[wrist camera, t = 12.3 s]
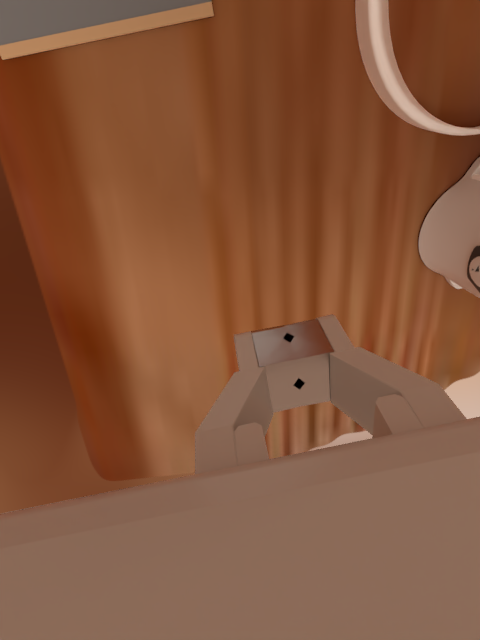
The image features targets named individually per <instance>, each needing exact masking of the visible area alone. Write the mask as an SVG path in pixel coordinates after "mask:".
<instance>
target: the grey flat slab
mask: <svg viewBox="0 0 480 640" xmlns="http://www.w3.org/2000/svg"><path fill="white" fill-rule="evenodd" d="M213 16H214V13H213V7H212V1H211V0H0V56H1V58H2V60H7V59H12V58H17V57H21V56H26V55H31V54H36V53H41V52H45V51H50V50H55V49H60V48H65V47H69V46H74V45H79V44H84V43H89V42H93V41H98V40H103V39H108V38H113V37H117V36H122V35H127V34H132V33H137V32H141V31H146V30H151V29H156V28H161V27H165V26H170V25H175V24H180V23H185V22H189V21H194V20H199V19H204V18H208V17H213Z"/></svg>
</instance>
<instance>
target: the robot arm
mask: <svg viewBox="0 0 480 640" xmlns="http://www.w3.org/2000/svg"><path fill="white" fill-rule="evenodd" d="M419 253H420V256H421V259H422V261H423V262H424V264H425V265H426V266H427V267H428V268H429V269H431V270H432V271H434V272H436V273H439V274H441V275H443V276H444V277H445V278H446V280H447V281H448V283H449V284H450V285H451V286H453V287H454V288H456V289H461V288H464V289H465V290H467V291H469V292H470V293H472V294H474V295H475V296H477V297H479V298H480V157H479V158H478V159H477V160H476V161H475V162H474V163H473V165H472V166H471V167H470V169H469V170H468V171H467V173H466V174H465V176H464V177H463V178H462V179H461V180H460V181H459V182H457V183H456V184H455V185H454V186H452V187H451V188H450V189H449V190H448V191H446V192H445V193H444V194H443V195H442V196H441V197H440V198H439V199H438V201H437V202H436V203H435V204H434V205H433V207H432V208H431V210H430V211H429V213H428V215H427V216H426V218H425V220H424V222H423V225H422V228H421V231H420V235H419ZM234 341H235V348H236V354H237V360H238V366H239V372H235V373H234V374H233V376H232V377H231V379H230V380H229V382H228V383H227V385H226V386H225V388H224V389H223V391H222V393H221V394H220V396H219V397H218V399H217V400H216V402H215V403H214V405H213V406H212V408H211V409H210V411H209V413H208V414H207V416H206V417H205V419H204V420H203V422H202V423H201V425H200V426H199V428H198V429H197V431H196V433H195V474H194V475H190V476H185V477H180V478H175V479H170V480H165V481H160V482H156V483H150V484H145V485H140V486H136V487H130V488H125V489H121V490H116V491H111V492H106V493H101V494H96V495H91V496H86V497H81V498H76V499H71V500H66V501H61V502H56V503H51V504H46V505H41V506H36V507H32V508H27V509H22V510H17V511H12V512H8V513H2V514H0V640H480V417H476V418H471V419H466V418H465V416H464V415H463V414H462V413H461V411H460V410H459V409H458V408H457V406H456V405H455V404H454V403H453V401H452V400H451V399H450V398H449V396H448V395H447V394H446V393H445V391H444V390H443V389H442V388H441V386H440V385H439V384H437V383H435V382H433V381H431V380H429V379H427V378H425V377H422V376H420V375H418V374H416V373H414V372H412V371H410V370H407V369H405V368H403V367H401V366H399V365H397V364H395V363H393V362H390V361H388V360H386V359H384V358H382V357H380V356H378V355H375V354H373V353H371V352H369V351H367V350H365V349H363V348H361V347H357V348H354V346H353V345H352V343H351V341H350V340H349V338H348V336H347V335H346V333H345V331H344V330H343V328H342V326H341V325H340V323H339V322H338V320H337V318H336V317H335V315H333V314H332V315H327V316H323V317H319V318H316V319H312V320H308V321H303V322H298V323H293V324H289V325H282V326H277V327H271V328H266V329H261V330H255V331H251V332H245V333H240V334H235V335H234ZM328 401H331V403H332V404H334V405H335V406H336V407H337V408H339V409H340V410H341V411H343V412H344V413H345V414H346V415H348V416H349V417H350V418H351V419H353V420H354V421H355V422H356V423H358V424H359V425H360V426H362V427H363V428H364V429H365V430H367V431H368V432H369V433H370V434H372V435H373V437H372V439H367V440H363V441H357V442H352V443H348V444H343V445H338V446H333V447H328V448H323V449H318V450H314V451H308V452H303V453H298V454H293V455H288V456H283V457H278V458H273V459H269V457H268V452H267V448H266V443H265V438H264V437H265V435H266V432H267V429H268V427H269V424H270V422H271V419H272V416H273V413H274V412H278V411H282V410H287V409H291V408H295V407H300V406H305V405H310V404H316V403H322V402H328Z"/></svg>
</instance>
